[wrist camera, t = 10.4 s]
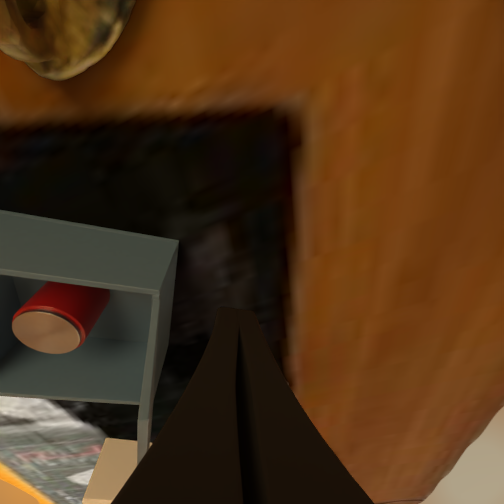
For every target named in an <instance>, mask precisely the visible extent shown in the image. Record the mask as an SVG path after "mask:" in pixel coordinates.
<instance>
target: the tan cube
mask: <svg viewBox="0 0 504 504" xmlns="http://www.w3.org/2000/svg"><path fill="white" fill-rule="evenodd" d="M151 445H152V443H151V442H150V446H151ZM149 448H150V447H149ZM136 467H137V441H132V440H123V439H114V438H106V439H105V442H104V445H103V447H102V450H101V452H100V455H99V458H98V460H97V463H96V466H95V468H94V471H93V474H92V476H91V479H90V482H89V484H88V487H87V489H86V492H85V495H84V497H83V502H82V504H111V502H112V501H113V499H114V498H115V497H116V495H117V494H118V493H119V491H120V490H121V488H122V487H123V486H124V484H125V483H126V481H127V480H128V478H129V477H130V475H131V474H132V473H133V471H134V470H135V468H136Z"/></svg>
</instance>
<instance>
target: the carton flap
mask: <svg viewBox="0 0 504 504" xmlns="http://www.w3.org/2000/svg"><path fill="white" fill-rule="evenodd" d="M159 309H160V300H153V306H152V313H151V321H150V329H149V337H148V345H147V352H146V360H145V368H144V376H143V384H142V391H141V399H140V407H139V415H138V439H137V465H138V464H139V462H140V461H141V460H142V458H143V457H144V455H145V454H146V452H147V451H148V449H149V447H150V435H151V424H152V411H153V397H154V382H155V368H156V353H157V339H158V324H159Z"/></svg>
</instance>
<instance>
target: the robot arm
mask: <svg viewBox="0 0 504 504" xmlns="http://www.w3.org/2000/svg"><path fill="white" fill-rule="evenodd" d="M111 504H374V503H373V501H372V500H371V499H370V498H369V496H368V495H367V494H366V493H365V492H364V490H363V489H362V488H361V487H360V486H359V484H358V483H357V482H356V481H355V479H354V478H353V477H352V476H351V475H350V473H349V472H348V471H347V469H346V468H345V467H344V465H343V464H342V463H341V461H340V460H339V459H338V457H337V456H336V455H335V454H334V452H333V451H332V450H331V448H330V447H329V446H328V444H327V443H326V442H325V440H324V439H323V438H322V436H321V435H320V433H319V432H318V430H317V429H316V427H315V426H314V425H313V423H312V422H311V420H310V419H309V417H308V416H307V414H306V413H305V411H304V410H303V408H302V406H301V405H300V403H299V402H298V400H297V398H296V397H295V395H294V393H293V392H292V390H291V388H290V387H289V384H288V383H287V381H286V379H285V378H284V376H283V374H282V372H281V370H280V368H279V367H278V365H277V363H276V361H275V359H274V357H273V355H272V353H271V351H270V348H269V346H268V344H267V342H266V340H265V337H264V335H263V333H262V331H261V328H260V326H259V323H258V321H257V318H256V315H255V313H254V312H253V311H250V310H242V309H234V308H227V307H220V308H218V309H217V314H216V319H215V323H214V328H213V332H212V334H211V337H210V340H209V342H208V344H207V347H206V349H205V352H204V354H203V356H202V358H201V360H200V362H199V364H198V366H197V368H196V370H195V372H194V374H193V376H192V378H191V380H190V382H189V384H188V386H187V388H186V389H185V391H184V393H183V395H182V396H181V398H180V400H179V402H178V403H177V405H176V407H175V408H174V410H173V412H172V413H171V415H170V417H169V418H168V420H167V421H166V423H165V425H164V426H163V428H162V429H161V431H160V433H159V434H158V436H157V437H156V439H155V440H154V442H153V443H152V445H151V446H150V448H149V449H148V451H147V452H146V454H145V455H144V457H143V458H142V460H141V461H140V462H139V464H138V465H137V467H136V468H135V470H134V471H133V473H132V474H131V475H130V477H129V478H128V480H127V481H126V483H125V484H124V486H123V487H122V488H121V490H120V491H119V493H118V494H117V495H116V497H115V498H114V499H113V501H112V502H111Z"/></svg>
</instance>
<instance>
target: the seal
mask: <svg viewBox="0 0 504 504" xmlns="http://www.w3.org/2000/svg"><path fill="white" fill-rule="evenodd" d="M135 2H136V0H0V50H2V51H3V52H4V53H5V54H7V55H8V56H10V57H12V58H13V59H16V60H20V61H24V62H25V63H26V64H27V65H28V66H29V67H30V68H31V69H32V70H33V71H35V72H36V73H37V74H39V75H40V76H42V77H44V78H47V79H51V80H55V81H62V80H66V79H69V78H72V77H74V76H76V75H78V74H80V73H82V72H84V71H86V70H87V69H88V67H90V66H92V65H94V64H96V63H97V62H98V61H99V60H101V59H102V58H103V57H104V56H106V54H107V52H109V51H110V50H111V49H112V47H113V45H114V44H115V42H116V41H117V40H118V38H119V36H120V35H121V33H122V31H123V29H124V28H125V26H126V24H127V22H128V20H129V18H130V15H131V11H132V8H133V7H134V4H135Z"/></svg>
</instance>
